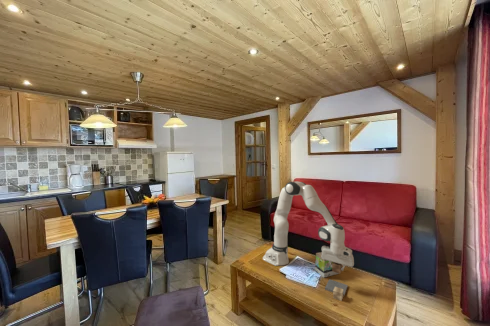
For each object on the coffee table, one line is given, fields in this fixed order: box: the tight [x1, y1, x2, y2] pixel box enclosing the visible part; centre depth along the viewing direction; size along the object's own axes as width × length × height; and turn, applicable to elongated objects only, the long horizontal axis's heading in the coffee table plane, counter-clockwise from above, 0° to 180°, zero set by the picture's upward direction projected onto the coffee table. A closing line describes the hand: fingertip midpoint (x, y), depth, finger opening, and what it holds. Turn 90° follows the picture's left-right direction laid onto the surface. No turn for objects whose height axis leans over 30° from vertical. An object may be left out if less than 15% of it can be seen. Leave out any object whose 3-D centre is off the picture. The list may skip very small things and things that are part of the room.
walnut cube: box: [332, 262, 343, 275], centre depth 144 cm, size 5×5×5 cm
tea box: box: [314, 251, 340, 278], centre depth 163 cm, size 15×10×15 cm
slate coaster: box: [324, 279, 348, 297], centre depth 145 cm, size 12×12×1 cm
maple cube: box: [332, 287, 344, 302], centre depth 136 cm, size 5×5×5 cm
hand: (337, 268), depth 144 cm, fingers closed on walnut cube, 5 cm apart
